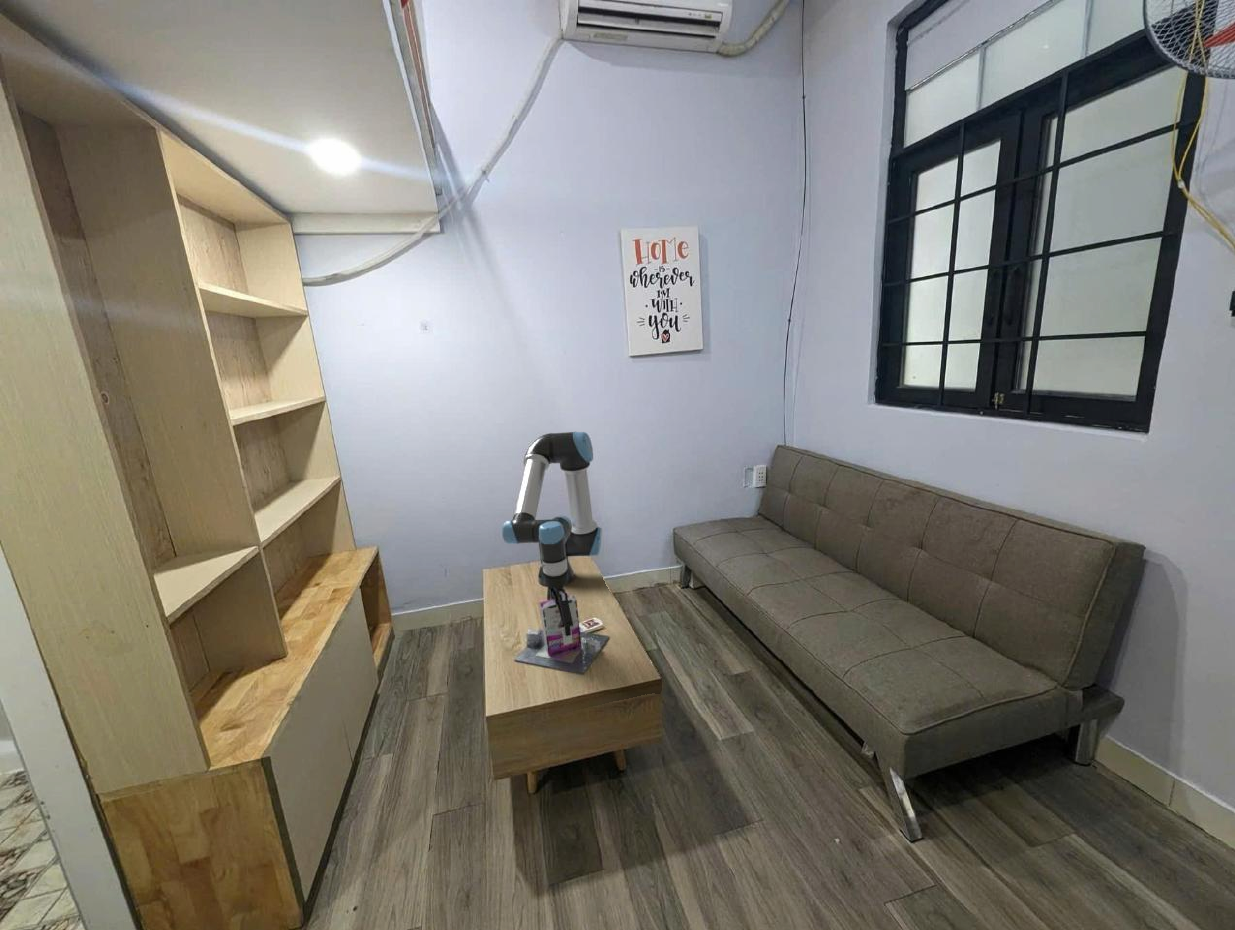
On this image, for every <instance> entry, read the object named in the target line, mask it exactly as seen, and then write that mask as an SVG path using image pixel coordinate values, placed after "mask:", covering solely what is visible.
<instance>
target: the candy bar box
mask: <svg viewBox="0 0 1235 930" xmlns="http://www.w3.org/2000/svg"><path fill="white" fill-rule="evenodd" d="M567 597H568V603H569V608H570V612H571V617H572V622H573V626H571V631H572V641H573V643H571V644H567V645H564V643H563V634H562V628H561V625H562V620H561V616H560V613H559V609H558V606H557V605H556V604H555V600H554V599H551V600H547V599H546V600H543V601H539V607H540V608H539V609H540V616H541V617H540V618H541V622H542V623H541V625H542V630H543V634H544V641H545V648H546V650H547V652H548V655H552V654H555V653H558V652H561V651H565V650H568V649H571V648H574V647H578V646H581V637H580V631H581V628H580V621H579V620H580V619H579V611H578V602H577V599H576V597H575V596H574V594H573V593H571V594H567ZM558 602H559V601H558Z"/></svg>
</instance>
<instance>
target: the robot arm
mask: <svg viewBox="0 0 1235 930" xmlns="http://www.w3.org/2000/svg"><path fill="white" fill-rule="evenodd" d="M593 451H594V449H593V445H592V440H591V438H590V436H589V434H588V433H587V432H585V431H571V432H569V431H568V432H567V431H566V432H555V433H553V432H552V433H551V432H549V433H545V434H542V435H541V436H539V437H538V438H537V439H535V440H533V442H532V443H531V444H530V446H529V447H528V449H527V450H526V452H525V454H524V458H523V466H524V470H523V473H522V478H521V482H520V487H519V490H518V495H517V500H516V504H515V508H514V511H513V512H514V513H513V516H512V520H511V519H510V520H506V521H504V523H503V524H502V529H501V530H502V532H501V533H502V540H504V542H505V543H506V544H517V545H519V544H533V543H534V544H535V543H536V544H538V549H539V559H540V566H539V571H538V573H537V574H538V576H537V578H538V579H537V580H538V583H539V585H541V586H544V587H547V593H546V594H547V595H546V601H547V600H551V599H554V600H555V604H556V605H557V606H558V609H559V613H560V616H561V620H562V625H561V628H562V634H563V643H564V645H567V644H571V643H573V641H572V631H571V626H573V622H572V617H571V612H570V608H569V603H568V597H567V595H568V593H567V592H566V589H565V588H564V586H566V585H567V584H569V583H571V582H572V581H573V580H574V577H575V573H574V570H573V567H572V566H571V563H570V560H569V557H590V556H592V557H593V556H598V555H599V554H600V552H601V547H602V536H603V535H602V534H603V533H602V532H603V531H602V530H603V529H602V527H600V526H598V523H597V522H596V521H595V520H594V519H593V512H592V503H591V494H590V487H589V478H588V477H589V476H588V470H587V469H588V468H589V467H590V465H591V462H592V461H593V460H594V452H593ZM550 464H551V465H552V464H559V467H560V470H561V471H563V472H564V475H565V482H566V489H567V497H568V504H569V505H568V506H569V510H570V511H569V512H570V518H569V517H567V516H565V515H556V516H555V517H553V518H552V519H536V518H537V513H538V509H539V502H540V498H541V494H542V489H543V483H544V477H545V474H546V473H545V472H546V471H547V470H548V469H549V467H550ZM558 601H559V602H558Z"/></svg>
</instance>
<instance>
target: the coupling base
mask: <svg viewBox="0 0 1235 930" xmlns="http://www.w3.org/2000/svg"><path fill="white" fill-rule="evenodd" d="M525 637H526V641H525V644H526V646H525V648H523V649H522V650H521V652H520V653H519V654H518V655H517V656H516V657H515V658H514V660H513V661H515V662H518V663H523V664H528V665H533V666H537V667H544V668H549V669H553V670H557V671H558V670H559V671H564V672H568V673H573V674H579V675H585V673H586V672H587V670H588V669H589V668H590V666H591V664H592V663H593V662H594V660H595V658H596V657H597V656H598V654H599V653H600V651H601V650H602V648H603V647H604V646H605V644H606V643H607V641H608V640H609V638H610V636H609V635H606V634H605V635H604V634H598V633H594V632H592V633H591V632H586V631H581V630H580V637H581V646H578V647H574V648H571V649H568V650H565V651H561V652H558V653H555V654H552V655H548V652H547V650H546V648H545V641H544V634H543V629H541V628H537V629H527V631H526V632H525Z"/></svg>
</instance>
